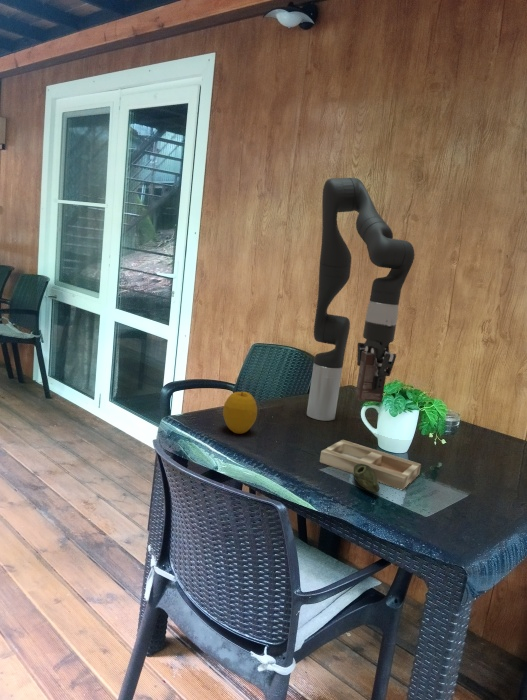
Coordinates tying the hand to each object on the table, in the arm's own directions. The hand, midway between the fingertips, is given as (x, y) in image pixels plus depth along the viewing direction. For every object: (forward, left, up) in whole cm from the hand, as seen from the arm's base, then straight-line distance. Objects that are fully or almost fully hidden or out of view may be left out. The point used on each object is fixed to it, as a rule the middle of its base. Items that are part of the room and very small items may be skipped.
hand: (370, 387), depth 143 cm
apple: (+4, -35, -21) cm, 41 cm away
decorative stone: (+11, +7, -21) cm, 25 cm away
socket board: (0, +3, -21) cm, 21 cm away
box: (0, 0, -3) cm, 3 cm away
